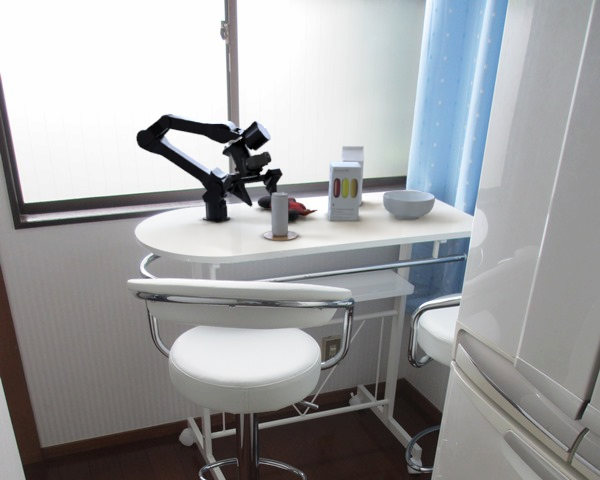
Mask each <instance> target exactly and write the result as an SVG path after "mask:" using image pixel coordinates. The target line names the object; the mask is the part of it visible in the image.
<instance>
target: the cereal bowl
mask: <svg viewBox="0 0 600 480" xmlns="http://www.w3.org/2000/svg"><path fill="white" fill-rule="evenodd" d="M435 201H436V196H435V195H434V194H432V193H430V192H426V191H421V190H407V189H406V190H390V191H389V190H388V191H385V192H384V193H383V194H382V203H383V207H384V209H385V210H386V211H387V212H388V213H389V214H391V215H393V216H394V217H395V219H399V220H404V221H405V220H406V221H409V220H410V221H413V220H417V219H419V218H420V217H422V216H425V215H428V214H429V213H430V212H431V211H432V210H433V209H434V206H435V203H436V202H435Z"/></svg>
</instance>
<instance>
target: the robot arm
mask: <svg viewBox="0 0 600 480" xmlns="http://www.w3.org/2000/svg"><path fill="white" fill-rule="evenodd" d="M170 130H173V131H178V132H184V133H187V134H188V133H189V134H194V135H199V136H204V137H205V138H207V139H210V140H211V141H213V142H216V143H219V144H221V145H224V147H223V150H222V152H221V154H222V155H223V156H226V157H228V158H230V157H231V159H232V161H233V164H234V166H235V167H234V173H233V172H232V173H226V172H224V171H223V170H222V169H220V168H219V167H215V168H213V169H209V168H207V167H206V166H205V165H203V164H201V163H200V162H199V161H197V160H195V159H194V158H193V157H191V156H189V155H188V154H187V153H185V152H183V151H182V150H180V149H179V148H177V147H176V146H175V145H173V144H172V143H171V142H170V141H169V140H168V139H167V137H166V136H165V135H167V133H168V132H169V131H170ZM271 138H272V137H271V134H270V133H269V131H268V129H267V128H266V127H264V125H262V124H261V123H260V122H259V120H254V121H253V122H252V123H251V124H250V125H249V126H248V127H247V128H246V129H245V128H241V127H238V126H236V124H235V123H234V122H233V121H230V120H215V121H207V120H202V119H196V118H190V117H185V116H181V115H174V114H173V113H166V114H163V115H161V116H160V117H159V118H158V120H156V121H155V122H154V123H152V124H151V125H149V126H148V127H147V128H143V129H140V130H139V131H138V132H137V133H136V136H135V139H136V143H137V146H138V147H139V148H140V149H142V150H144V151H146V152H149V153H150V154H154V155H158V156H161V157H163V158H165V159H166V160H167V161H169V162H171V163H172V164H174V165H175V166H176V167H178V168H179V169H181V170H182V171H183V172H185V173H187V174H188V175H190V176H192V177H193V178H194V179H196V180H197V181H199V182H200V184H201V185H202V187H203V188H204V189H205V190H206V191H205V192H204V193H203V194H202V195H201V198H202V201H203V203H204V206H205V216H204V217H202V220H203V221H208V222H212V223H217V224H218V223H221V222H224V221H228V220H231V217H230V216H228V205H227V200H226V198H227V197H228V194H229V195H233V196H234V197H236V198H238V199H239V200H240V201H242V202H243V203H245V204H246V205H247V206H248V207H250V208H251V207H253V201H252V199H251V197H250V195H249V193H248V191H247V188H246V184H249V185H250V184H255V183H261V182H262V183H263V185H264V186H265V188H264V189H265V190H266V192H267V193H268V195H269V196H272V193H274V192H278V182H279V181H280V180H281V178H282V177H283V172H282V169H281V168H279V167H271V168H267V170H266V172H265V173H263V174H261V173H262V172H263V171H264V168H263V167H266V166H268V165H269V164H270V163H271V162H272V156H271V153H270V152H269V151H263V152H260V153H259V154H253V155H252V154H251V153H252V152H251V151H255V152H257V151H258V150H259V149H261V148H262V147H263V146H264V145H266V144H267V143H268V142H269V141H270V140H271ZM230 142H231V143H230ZM228 143H230V144H229V145H225V144H228Z"/></svg>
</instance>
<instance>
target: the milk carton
mask: <svg viewBox="0 0 600 480" xmlns="http://www.w3.org/2000/svg"><path fill="white" fill-rule="evenodd" d="M341 149H342V150H341V162H358V163H359V165H360V166H361V182H360V199H359V206H362V200H363V199H362V198H363V181H364V161H365V158H364V156H365V155H364V146H359V145H357V146H355V145H342V147H341Z"/></svg>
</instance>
